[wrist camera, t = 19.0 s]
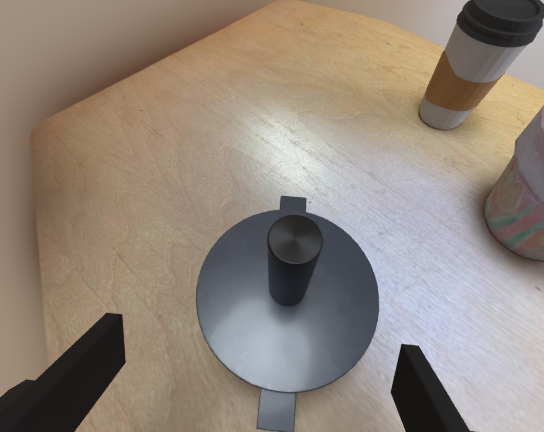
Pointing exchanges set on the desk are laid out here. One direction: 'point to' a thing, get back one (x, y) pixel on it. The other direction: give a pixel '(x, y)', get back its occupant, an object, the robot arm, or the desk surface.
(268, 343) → the lid
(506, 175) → the potted plant
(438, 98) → the coffee cup
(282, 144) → the desk surface
